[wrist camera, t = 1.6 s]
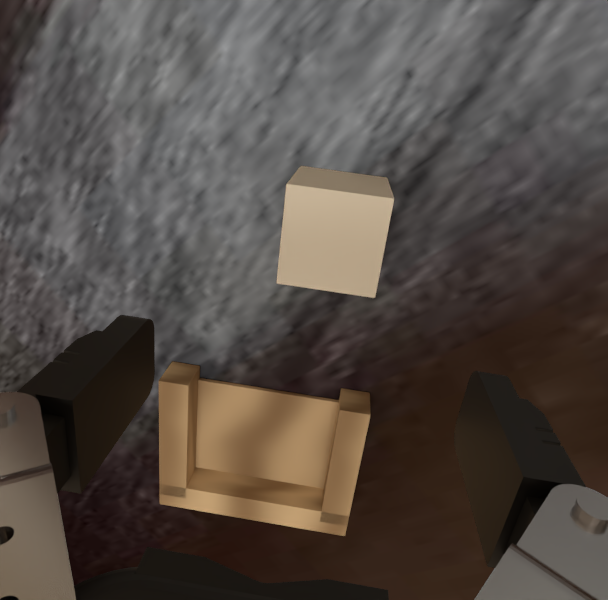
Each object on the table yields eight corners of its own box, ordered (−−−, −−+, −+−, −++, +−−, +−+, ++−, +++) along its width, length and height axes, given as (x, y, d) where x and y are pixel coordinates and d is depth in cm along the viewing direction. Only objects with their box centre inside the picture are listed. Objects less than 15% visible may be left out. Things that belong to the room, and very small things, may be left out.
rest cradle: (369, 392, 33) (370, 414, 31) (345, 509, 38) (344, 536, 35) (172, 361, 34) (158, 380, 32) (171, 479, 38) (159, 503, 36)
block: (387, 177, 27) (394, 198, 22) (371, 259, 29) (375, 297, 24) (300, 165, 28) (286, 183, 22) (291, 248, 30) (276, 283, 24)
